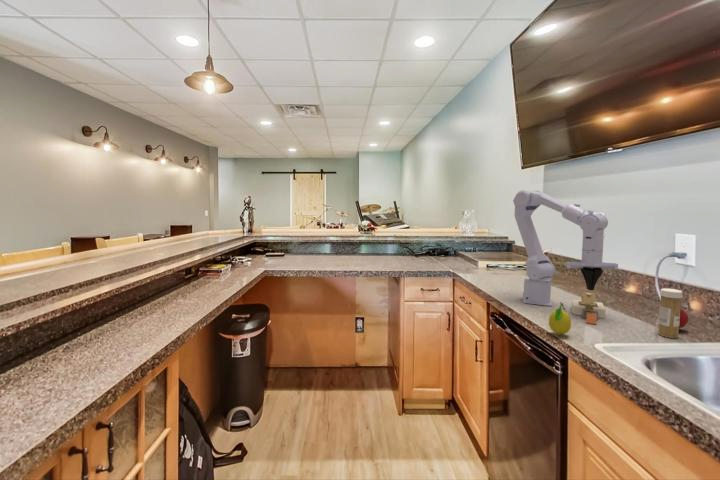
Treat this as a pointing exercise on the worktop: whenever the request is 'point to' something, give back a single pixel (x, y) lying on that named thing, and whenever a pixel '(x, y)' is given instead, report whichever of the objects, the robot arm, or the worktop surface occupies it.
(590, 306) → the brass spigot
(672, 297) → the sprinkles bottle
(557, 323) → the lemon
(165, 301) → the worktop surface
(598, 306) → the dock
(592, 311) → the block
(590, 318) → the pin
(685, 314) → the onion
